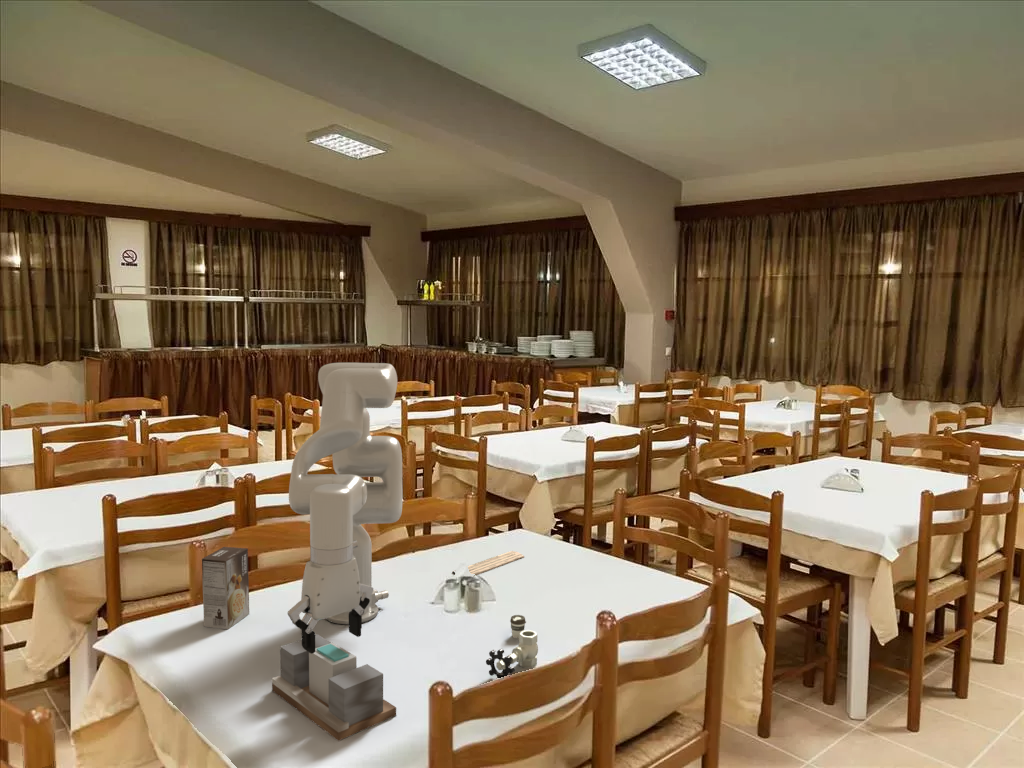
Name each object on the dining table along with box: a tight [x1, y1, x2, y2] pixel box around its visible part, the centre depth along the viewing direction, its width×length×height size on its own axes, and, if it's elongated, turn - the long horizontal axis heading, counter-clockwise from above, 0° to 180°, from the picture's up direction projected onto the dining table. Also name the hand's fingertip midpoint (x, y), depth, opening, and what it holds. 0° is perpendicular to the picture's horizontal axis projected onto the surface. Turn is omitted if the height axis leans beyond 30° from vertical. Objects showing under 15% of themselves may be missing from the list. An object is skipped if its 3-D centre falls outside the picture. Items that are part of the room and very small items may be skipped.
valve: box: [485, 629, 539, 679], centre depth 158 cm, size 7×7×12 cm
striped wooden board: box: [452, 550, 525, 576], centre depth 220 cm, size 24×7×2 cm, turn 139°
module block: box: [309, 642, 358, 705], centre depth 143 cm, size 5×8×8 cm, turn 45°
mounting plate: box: [271, 633, 397, 742], centre depth 144 cm, size 12×23×8 cm, turn 45°
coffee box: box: [201, 546, 250, 630], centre depth 178 cm, size 9×6×16 cm
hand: (332, 642), depth 143 cm, fingers open, 9 cm apart
